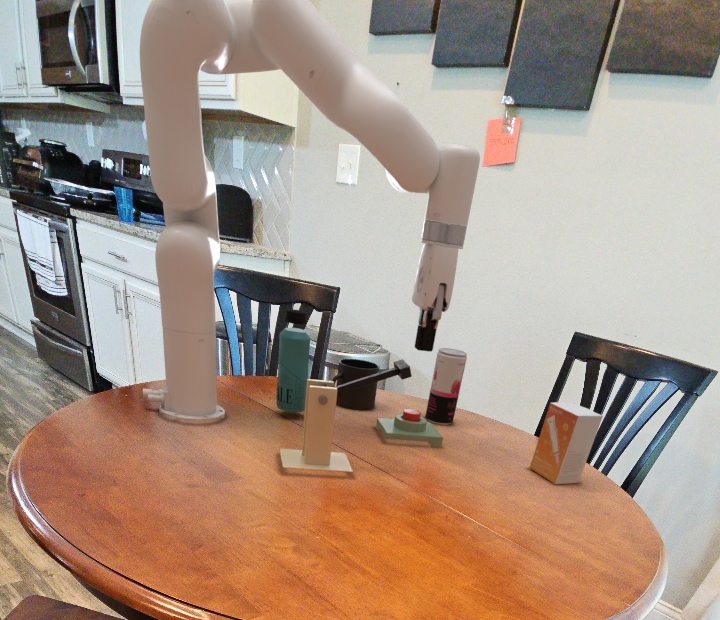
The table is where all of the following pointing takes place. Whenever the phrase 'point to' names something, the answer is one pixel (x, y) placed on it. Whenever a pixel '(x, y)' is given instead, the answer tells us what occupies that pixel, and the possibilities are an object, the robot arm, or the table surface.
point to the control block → (409, 430)
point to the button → (411, 415)
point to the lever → (377, 377)
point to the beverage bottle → (293, 364)
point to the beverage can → (445, 386)
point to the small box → (565, 442)
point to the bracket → (317, 432)
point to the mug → (360, 396)
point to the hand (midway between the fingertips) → (423, 349)
